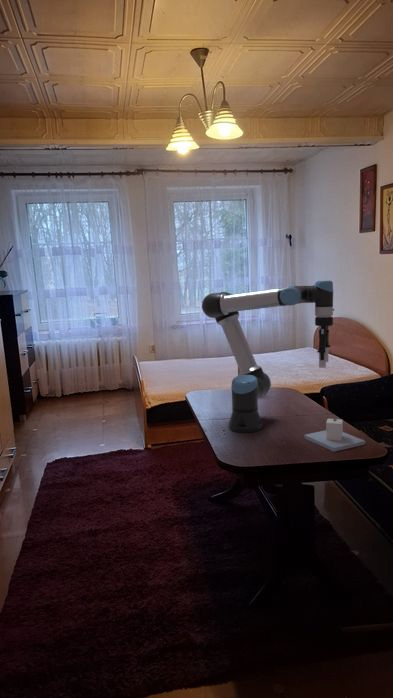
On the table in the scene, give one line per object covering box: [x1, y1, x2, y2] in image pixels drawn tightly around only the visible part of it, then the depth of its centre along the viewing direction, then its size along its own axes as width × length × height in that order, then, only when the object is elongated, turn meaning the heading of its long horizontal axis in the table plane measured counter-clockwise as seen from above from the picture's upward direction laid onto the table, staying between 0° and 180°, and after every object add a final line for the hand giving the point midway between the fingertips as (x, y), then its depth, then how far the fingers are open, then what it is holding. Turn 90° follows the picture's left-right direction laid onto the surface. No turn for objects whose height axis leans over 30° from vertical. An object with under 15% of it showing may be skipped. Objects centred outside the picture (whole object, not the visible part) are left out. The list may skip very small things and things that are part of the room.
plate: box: [304, 429, 366, 453], centre depth 188 cm, size 16×18×7 cm
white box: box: [325, 417, 344, 441], centre depth 188 cm, size 6×6×8 cm
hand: (323, 364), depth 202 cm, fingers open, 13 cm apart
